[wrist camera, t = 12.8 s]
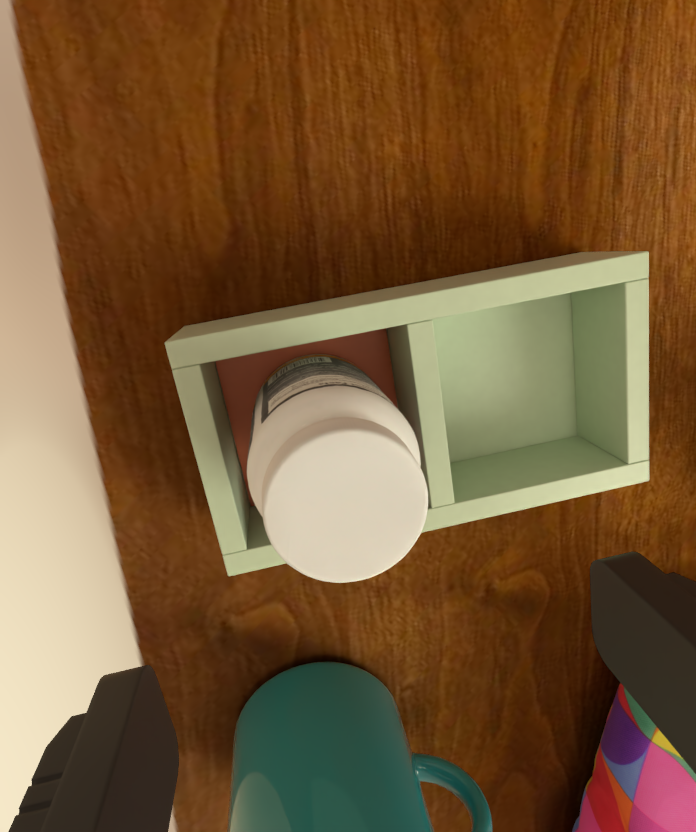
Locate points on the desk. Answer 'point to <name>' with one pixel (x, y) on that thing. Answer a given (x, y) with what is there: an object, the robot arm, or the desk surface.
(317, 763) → the cup
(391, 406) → the pill bottle
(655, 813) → the pencil case
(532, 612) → the desk surface
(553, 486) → the holder
